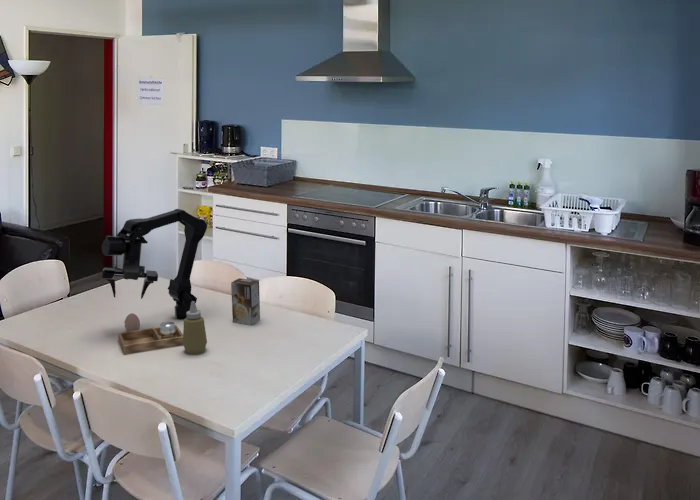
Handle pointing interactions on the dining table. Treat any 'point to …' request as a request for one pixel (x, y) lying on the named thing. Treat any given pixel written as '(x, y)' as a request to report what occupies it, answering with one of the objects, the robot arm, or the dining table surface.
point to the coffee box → (245, 301)
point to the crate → (147, 340)
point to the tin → (167, 330)
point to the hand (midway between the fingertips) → (128, 297)
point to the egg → (132, 322)
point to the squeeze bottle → (194, 331)
